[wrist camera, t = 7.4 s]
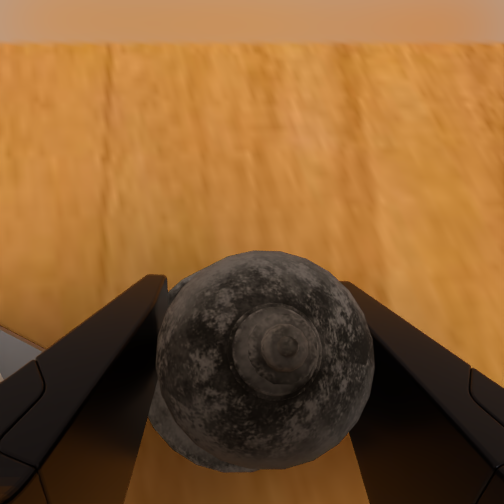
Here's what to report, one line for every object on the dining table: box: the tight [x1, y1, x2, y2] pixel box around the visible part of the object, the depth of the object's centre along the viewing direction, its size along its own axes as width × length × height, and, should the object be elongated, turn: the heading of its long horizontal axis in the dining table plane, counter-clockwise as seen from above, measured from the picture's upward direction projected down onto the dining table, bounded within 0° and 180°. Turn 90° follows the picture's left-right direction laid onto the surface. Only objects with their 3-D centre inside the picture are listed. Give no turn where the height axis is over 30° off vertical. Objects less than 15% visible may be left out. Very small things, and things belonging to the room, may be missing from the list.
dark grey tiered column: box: [148, 251, 375, 472], centre depth 9 cm, size 6×6×12 cm
